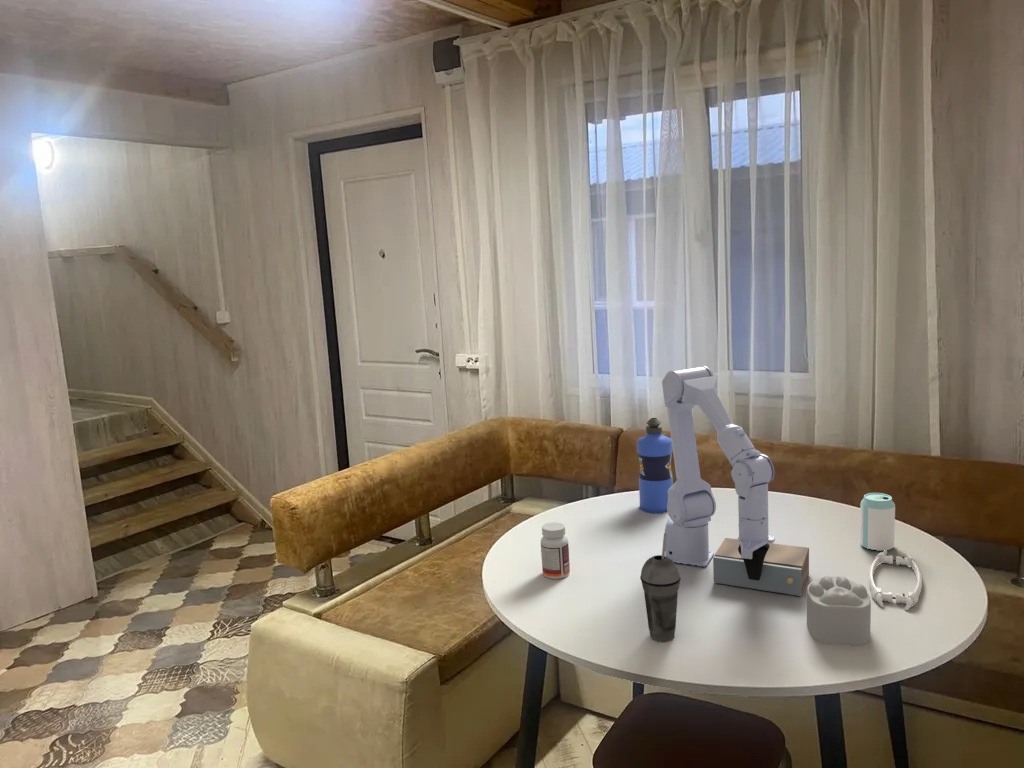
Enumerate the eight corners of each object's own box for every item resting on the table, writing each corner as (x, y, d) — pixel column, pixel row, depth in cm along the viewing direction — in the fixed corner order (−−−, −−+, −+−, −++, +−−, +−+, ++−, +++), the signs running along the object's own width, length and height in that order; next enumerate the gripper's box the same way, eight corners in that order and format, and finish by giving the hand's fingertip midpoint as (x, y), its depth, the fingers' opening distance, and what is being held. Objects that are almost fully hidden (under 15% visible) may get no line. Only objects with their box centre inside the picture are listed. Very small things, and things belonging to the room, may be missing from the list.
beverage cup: (638, 628, 147) (634, 528, 143) (675, 624, 148) (672, 524, 144) (648, 647, 140) (644, 543, 136) (687, 643, 140) (684, 539, 137)
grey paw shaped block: (811, 643, 138) (811, 598, 136) (802, 609, 150) (802, 567, 149) (874, 647, 135) (875, 601, 134) (860, 612, 148) (860, 569, 146)
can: (877, 538, 181) (878, 489, 179) (901, 549, 174) (902, 498, 172) (853, 544, 179) (853, 494, 176) (876, 555, 172) (877, 503, 170)
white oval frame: (920, 563, 168) (923, 614, 146) (870, 557, 172) (865, 606, 150) (921, 551, 167) (923, 601, 145) (870, 546, 172) (866, 593, 150)
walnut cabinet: (715, 581, 164) (714, 554, 163) (725, 563, 173) (725, 537, 172) (802, 594, 156) (802, 566, 155) (808, 574, 165) (809, 547, 164)
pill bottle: (563, 566, 177) (560, 519, 175) (574, 576, 172) (571, 528, 170) (538, 571, 175) (535, 524, 173) (549, 582, 170) (546, 533, 168)
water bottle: (639, 513, 207) (635, 423, 203) (639, 502, 216) (636, 415, 212) (674, 513, 206) (672, 422, 201) (673, 501, 215) (670, 414, 210)
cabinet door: (712, 584, 163) (711, 559, 162) (714, 580, 164) (714, 555, 163) (800, 598, 154) (800, 571, 153) (801, 594, 155) (801, 568, 154)
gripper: (767, 530, 147) (768, 597, 149) (780, 505, 160) (780, 567, 162) (729, 526, 150) (731, 591, 153) (745, 502, 163) (746, 563, 165)
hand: (754, 579), depth 158 cm, fingers closed
